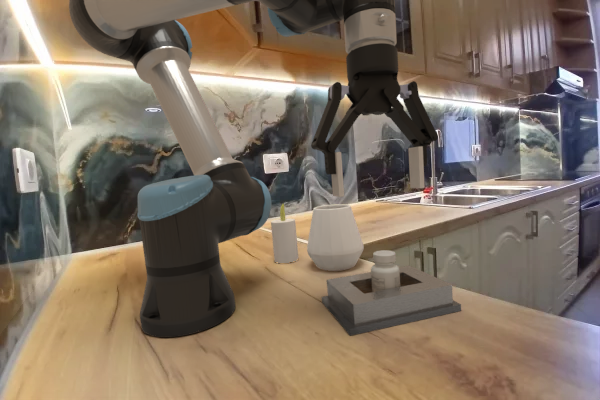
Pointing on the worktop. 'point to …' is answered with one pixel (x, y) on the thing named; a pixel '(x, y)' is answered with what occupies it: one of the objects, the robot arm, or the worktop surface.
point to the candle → (284, 239)
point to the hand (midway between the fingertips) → (379, 192)
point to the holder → (387, 300)
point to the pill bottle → (384, 271)
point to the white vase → (334, 238)
